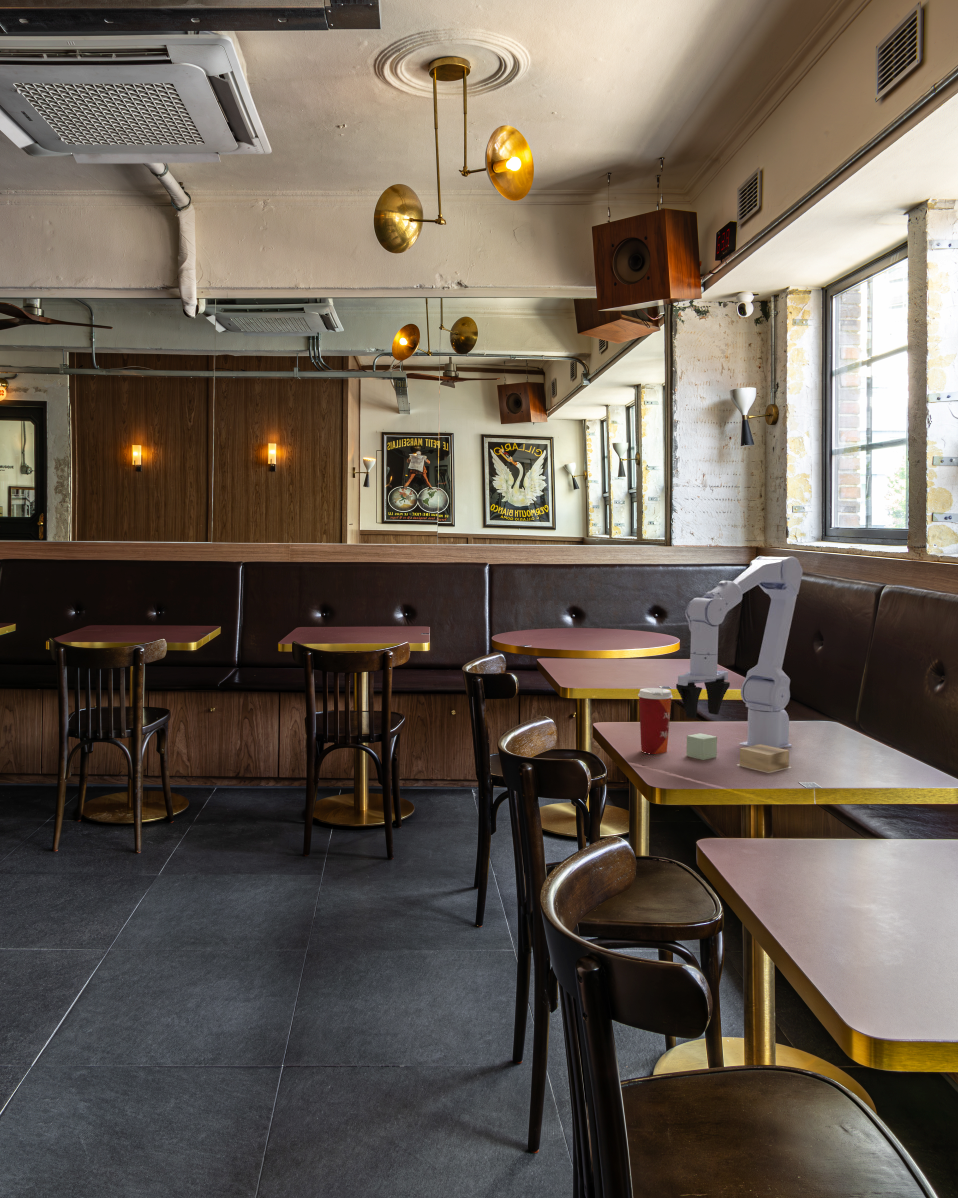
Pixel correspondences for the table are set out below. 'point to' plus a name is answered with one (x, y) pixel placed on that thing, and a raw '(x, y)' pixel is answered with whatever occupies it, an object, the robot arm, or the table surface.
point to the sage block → (701, 746)
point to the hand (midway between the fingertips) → (702, 715)
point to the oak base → (764, 757)
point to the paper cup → (654, 719)
